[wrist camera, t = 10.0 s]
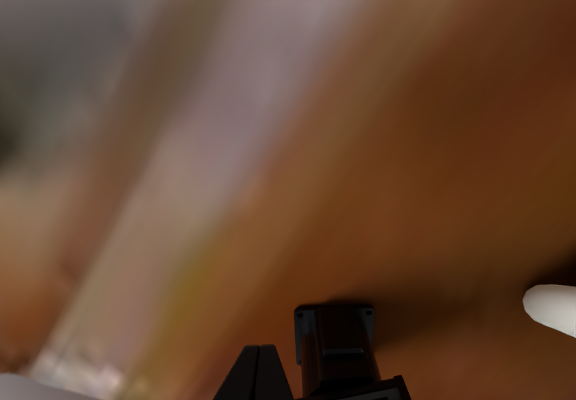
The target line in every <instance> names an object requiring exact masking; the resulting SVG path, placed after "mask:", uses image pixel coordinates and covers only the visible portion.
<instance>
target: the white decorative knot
mask: <svg viewBox="0 0 576 400" xmlns="http://www.w3.org/2000/svg"><path fill="white" fill-rule="evenodd" d="M523 304H524V308H525V311H526V312H527V313H528V314H529V315H530V316H531V318H532V319H533V320H534V321H536V322H539V323H541V324H543V325H546V326H548V327H551V328H554V329H556V330H559V331H561V332H563V333H566V334H568V335H571V336H573V337H575V338H576V287H573V286H564V285H553V284H549V285H535V286H534V287H532V288H530V289H529V290H527V291H526V293H525V295H524V298H523Z"/></svg>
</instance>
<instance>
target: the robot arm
mask: <svg viewBox="0 0 576 400" xmlns="http://www.w3.org/2000/svg"><path fill="white" fill-rule="evenodd" d="M368 310H370V311H368ZM298 313H302V314H298ZM374 318H375V310H374V307H373V306H372V305H369V304H365V305H339V306H314V307H298V308H296V309H295V310H294V323H295V342H296V361H297V364H298V365H300V366H301V368H302V390H303V398H299V399H294V398H293V395H292V392H291V389H290V387H289V384H288V381H287V378H286V375H285V372H284V369H283V367H282V364H281V361H280V358H279V355H278V352H277V349H276V347H275V345H274V344H263V345H261V346H259V345H246V346H245V347H244V348H243V349H242V351H241V353H240V355H239V356H238V358H237V360H236V361H235V363H234V365H233V366H232V368H231V370H230V371H229V373H228V375H227V376H226V378H225V380H224V381H223V383H222V385H221V386H220V388H219V390H218V391H217V393H216V395H215V396H214V398H213V400H411V397H410V395H409V392H408V390H407V387H406V385H405V382H404V380H403V377H402V375H398V376H394V378H392V379H387V380H381V376H380V373H379V369H378V366H377V363H376V359H375V356H374V353H373V349H372V339H373V328H374Z"/></svg>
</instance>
